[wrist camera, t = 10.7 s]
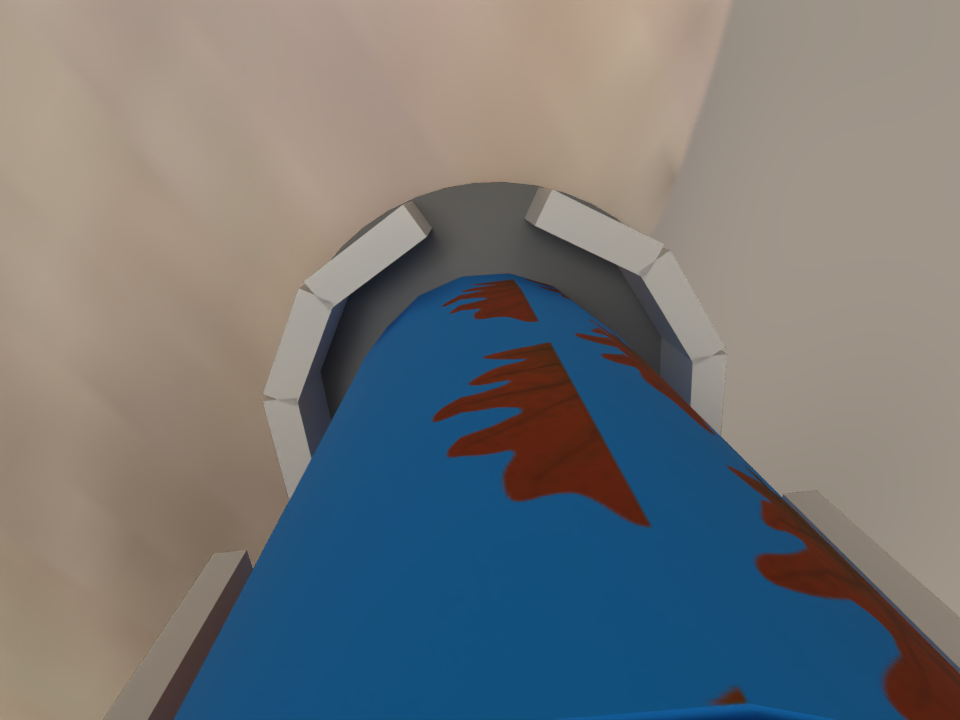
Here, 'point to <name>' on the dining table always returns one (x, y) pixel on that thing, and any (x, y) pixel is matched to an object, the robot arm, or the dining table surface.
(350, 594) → the thermos
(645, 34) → the dining table surface
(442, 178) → the dining table surface
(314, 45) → the dining table surface
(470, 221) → the bayonet base
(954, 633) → the robot arm
